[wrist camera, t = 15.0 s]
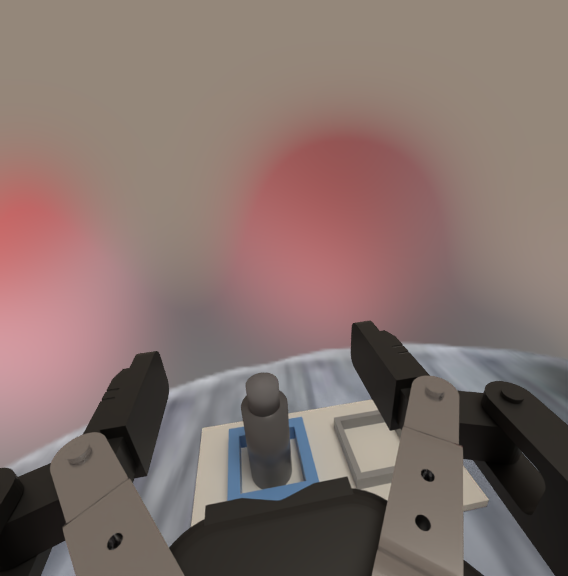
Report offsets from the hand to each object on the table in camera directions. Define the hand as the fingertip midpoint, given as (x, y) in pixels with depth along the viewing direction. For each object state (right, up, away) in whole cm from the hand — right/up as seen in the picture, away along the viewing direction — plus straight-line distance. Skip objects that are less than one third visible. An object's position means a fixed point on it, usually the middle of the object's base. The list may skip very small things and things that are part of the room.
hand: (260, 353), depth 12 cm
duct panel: (+6, -17, +21) cm, 27 cm away
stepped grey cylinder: (0, -17, +19) cm, 26 cm away
